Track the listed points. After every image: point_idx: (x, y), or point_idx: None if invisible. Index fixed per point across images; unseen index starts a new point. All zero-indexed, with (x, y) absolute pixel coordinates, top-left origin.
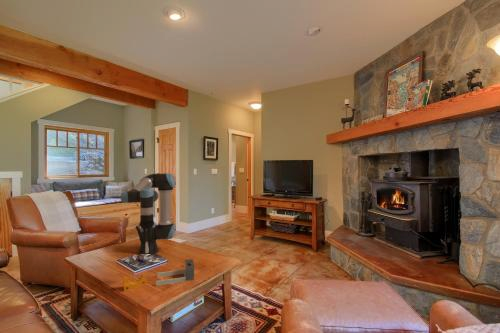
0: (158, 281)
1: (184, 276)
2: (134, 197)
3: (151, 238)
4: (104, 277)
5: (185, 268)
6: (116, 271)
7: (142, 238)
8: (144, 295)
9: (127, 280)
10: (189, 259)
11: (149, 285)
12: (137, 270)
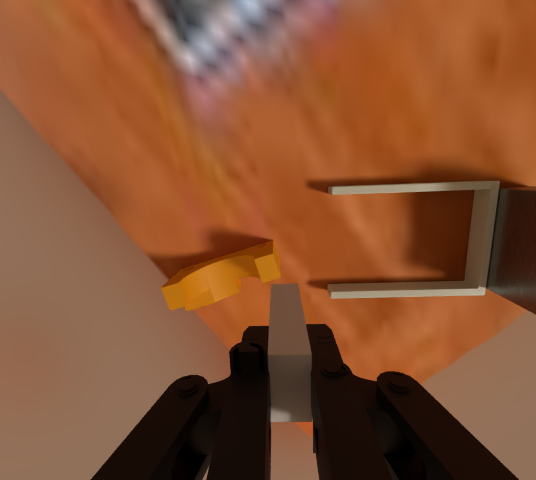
0: (343, 297)
1: (480, 282)
2: None
3: (383, 426)
4: (35, 107)
5: (516, 251)
6: (68, 26)
7: (195, 418)
8: None
9: (190, 300)
10: None
11: (296, 276)
12: (198, 49)
